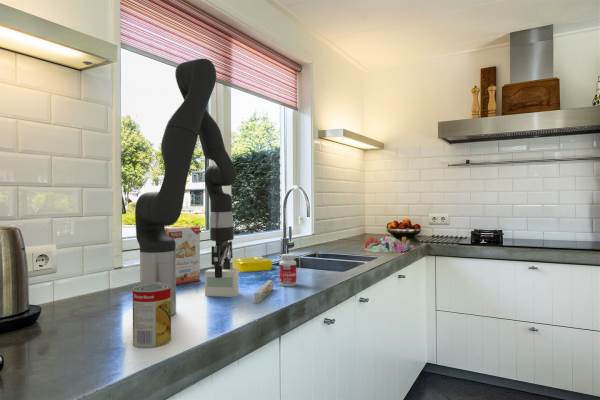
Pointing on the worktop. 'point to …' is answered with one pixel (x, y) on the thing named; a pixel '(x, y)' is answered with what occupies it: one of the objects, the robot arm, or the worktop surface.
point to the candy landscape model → (387, 244)
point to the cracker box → (186, 252)
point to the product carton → (222, 283)
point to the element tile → (251, 264)
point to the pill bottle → (287, 270)
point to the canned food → (151, 315)
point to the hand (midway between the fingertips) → (222, 275)
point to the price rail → (263, 291)
